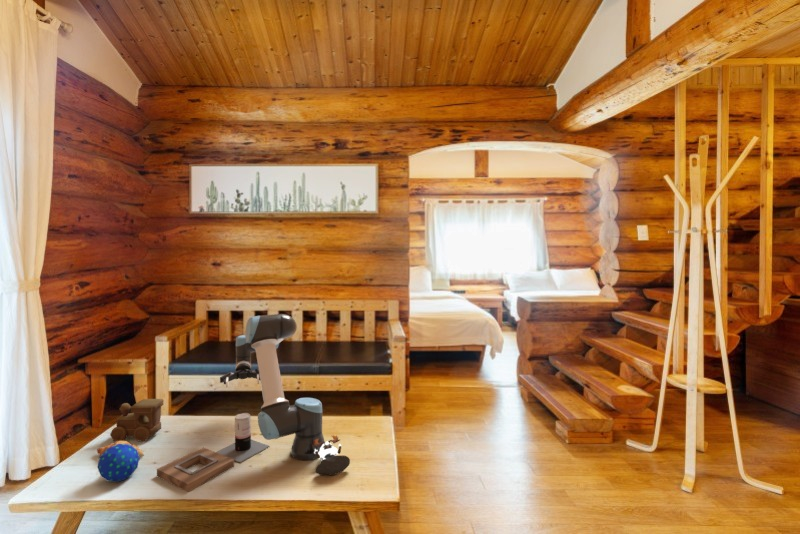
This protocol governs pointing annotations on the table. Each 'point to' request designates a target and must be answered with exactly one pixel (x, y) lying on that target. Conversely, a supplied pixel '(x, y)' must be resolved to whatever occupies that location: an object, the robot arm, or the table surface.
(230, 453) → the rubber mat
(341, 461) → the figurine
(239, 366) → the robot arm
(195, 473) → the socket stand
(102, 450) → the croissant
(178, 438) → the table surface
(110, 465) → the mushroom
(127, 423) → the wooden toy train
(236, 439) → the beverage can
